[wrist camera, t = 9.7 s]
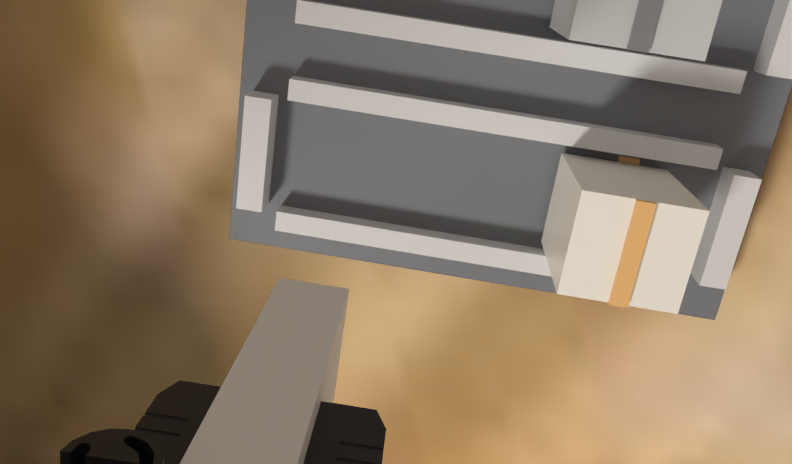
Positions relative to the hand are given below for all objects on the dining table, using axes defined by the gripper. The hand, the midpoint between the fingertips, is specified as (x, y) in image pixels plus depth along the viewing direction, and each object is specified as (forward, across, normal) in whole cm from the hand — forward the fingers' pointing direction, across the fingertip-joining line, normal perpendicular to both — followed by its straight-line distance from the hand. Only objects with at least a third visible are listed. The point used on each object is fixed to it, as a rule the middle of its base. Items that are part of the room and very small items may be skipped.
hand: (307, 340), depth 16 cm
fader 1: (+13, +8, +8) cm, 18 cm away
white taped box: (+13, +9, 0) cm, 16 cm away
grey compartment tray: (+16, +5, +4) cm, 17 cm away
